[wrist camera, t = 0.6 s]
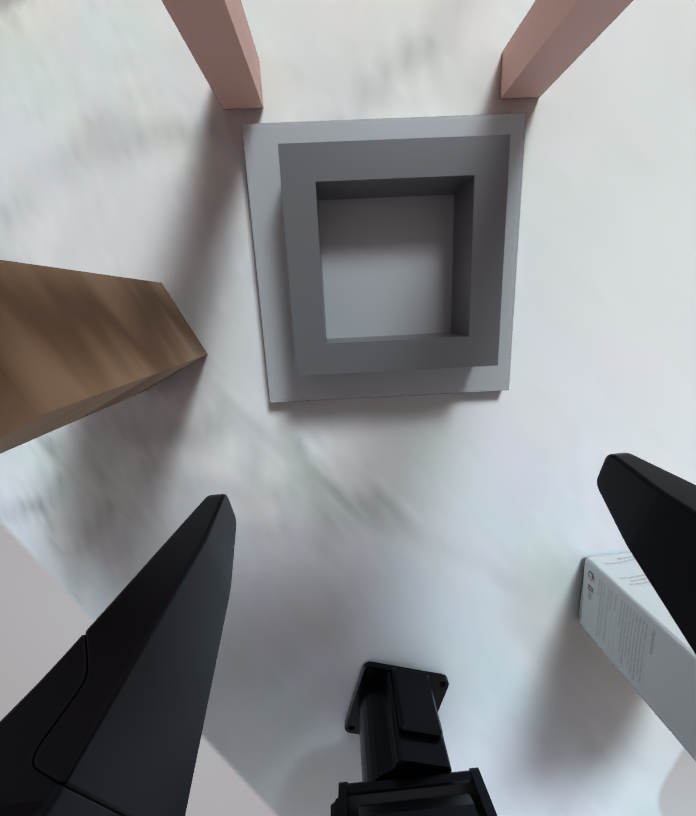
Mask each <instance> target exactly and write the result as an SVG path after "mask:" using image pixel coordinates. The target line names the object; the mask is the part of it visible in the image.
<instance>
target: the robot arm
mask: <svg viewBox="0 0 696 816" xmlns="http://www.w3.org/2000/svg"><path fill="white" fill-rule="evenodd" d="M597 486H598V489H599V491H600V493H601V495H602V497H603V499H604V501H605V503H606V505H607V507H608V509H609V511H610V513H611V515H612V517H613V519H614V521H615V523H616V525H617V527H618V529H619V531H620V533H621V535H622V537H623V539H624V541H625V543H626V545H627V546H628V548H629V550H630V551H631V553H632V555H633V557H634V558H635V560H636V561H637V563H638V564H639V566H640V568H641V569H642V571H643V572H644V574H645V576H646V577H647V579H648V580H649V582H650V583H651V585H652V587H653V588H654V590H655V591H656V593H657V594H658V596H659V598H660V599H661V601H662V602H663V604H664V606H665V607H666V609H667V610H668V612H669V613H670V615H671V617H672V618H673V620H674V621H675V623H676V625H677V626H678V628H679V629H680V631H681V632H682V634H683V636H684V637H685V639H686V640H687V642H688V644H689V645H690V647H691V648H692V650H693V651H694V653H695V655H696V485H694V484H692V483H690V482H688V481H686V480H684V479H682V478H680V477H678V476H676V475H673V474H671V473H669V472H667V471H665V470H663V469H661V468H659V467H657V466H655V465H653V464H651V463H649V462H646V461H644V460H642V459H640V458H638V457H636V456H634V455H632V454H629V453H617V454H610V455H608V456H607V457H606V459H605V461H604V463H603V466H602V468H601V471H600V473H599V476H598V478H597ZM235 533H236V518H235V515H234V512H233V509H232V507H231V504H230V501H229V499H228V497H227V496H226V495H225V494H218V495H210V496H208V497H206V498H205V499H204V500H203V501H202V503H201V504H200V505H199V506H198V507H197V508H196V509H195V510H194V512H193V513H192V514H191V515H190V516H189V517H188V518H187V519H186V520H185V522H184V523H183V524H182V525H181V526H180V527H179V528H178V529H177V530H176V532H175V533H174V534H173V535H172V536H171V537H170V538H169V539H168V540H167V542H166V543H165V544H164V545H163V546H162V547H161V548H160V549H159V550H158V552H157V553H156V554H155V555H154V556H153V557H152V558H151V559H150V561H149V562H148V563H147V564H146V565H145V566H144V567H143V568H142V569H141V571H140V572H139V573H138V574H137V575H136V576H135V577H134V578H133V579H132V581H131V582H130V583H129V584H128V585H127V586H126V587H125V588H124V589H123V591H122V592H121V593H120V594H119V595H118V596H117V597H116V598H115V599H114V601H113V602H112V603H111V604H110V605H109V606H108V607H107V608H106V610H105V611H104V612H103V613H102V614H101V615H100V616H99V617H98V618H97V620H96V621H95V622H94V623H93V624H92V625H91V626H90V627H89V628H88V630H87V631H86V635H82V636H81V637H80V638H79V639H78V641H77V642H76V643H75V644H74V645H73V646H72V647H71V648H70V649H69V651H68V652H67V653H66V654H65V655H64V656H63V657H62V658H61V659H60V660H59V661H58V662H57V664H56V665H55V666H54V667H53V668H52V669H51V670H50V671H49V672H48V673H47V674H46V675H45V676H44V678H43V679H42V680H41V681H40V682H39V683H38V684H37V685H36V686H35V687H34V688H33V689H32V690H31V691H30V692H29V693H28V694H27V695H26V696H25V697H24V698H23V699H22V700H21V701H20V702H19V703H18V704H17V705H16V706H15V707H14V708H13V709H12V710H11V711H10V712H9V713H8V714H7V715H6V716H5V717H4V718H3V719H2V720H1V721H0V816H185V813H186V808H187V803H188V798H189V793H190V788H191V783H192V777H193V773H194V768H195V763H196V758H197V753H198V748H199V744H200V739H201V734H202V729H203V724H204V719H205V714H206V709H207V704H208V699H209V694H210V689H211V684H212V679H213V674H214V669H215V664H216V659H217V654H218V649H219V644H220V639H221V634H222V629H223V625H224V620H225V615H226V610H227V605H228V600H229V594H230V588H231V579H232V567H233V556H234V545H235ZM369 669H371V670H369ZM448 685H449V683H448V680H447V677H446V676H445V675H443V674H438V673H432V672H427V671H421V670H415V669H410V668H404V667H398V666H393V665H387V664H381V663H376V662H367V663H365V664H364V666H363V669H362V672H361V675H360V678H359V681H358V684H357V687H356V690H355V693H354V696H353V699H352V702H351V705H350V708H349V711H348V714H347V717H346V720H345V730H346V731H347V732H349V733H354V734H360V747H361V765H362V782H358V783H349V784H348V782H340V783H339V794H338V798H337V799H336V800H335V802H334V803H333V804H332V805H331V816H497V814H496V811H495V809H494V806H493V804H492V801H491V799H490V796H489V794H488V791H487V789H486V786H485V784H484V781H483V779H482V776H481V774H480V771H479V769H478V768H469V771H459V772H452V771H451V766H450V762H449V758H448V754H447V750H446V746H445V742H444V738H443V734H442V728H441V724H440V720H439V716H438V710H439V708H440V705H441V703H442V700H443V698H444V695H445V693H446V690H447V688H448Z"/></svg>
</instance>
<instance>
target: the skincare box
mask: <svg viewBox="0 0 696 816" xmlns="http://www.w3.org/2000/svg"><path fill="white" fill-rule="evenodd" d="M579 621H580V622H581V626H582V627H583V629H584V630H585V631H586V632H587V633H588V634H589V636H590V637H591V638H592V639H593V640H594V642H595V643H596V644H597V645H598V646H599V648H600V649H601V650H602V651H603V652H604V653H605V655H606V656H607V657H608V658H609V659H610V660H611V662H612V663H613V664H614V665H615V667H616V668H617V669H618V670H619V671H620V672H621V674H622V675H623V676H624V677H625V678H626V679H627V681H628V682H629V683H630V684H631V685H632V686H633V688H634V689H635V690H636V691H637V692H638V694H639V695H640V696H641V697H642V698H643V700H644V701H645V702H646V703H647V704H648V705H649V707H650V708H651V709H652V710H653V711H654V713H655V714H656V715H657V716H658V717H659V718H660V720H661V721H662V722H663V723H664V724H665V726H666V727H667V728H668V729H669V730H670V731H671V732H672V734H673V735H674V736H675V737H676V738H677V740H678V741H679V742H680V743H681V744H682V746H683V747H684V748H685V749H686V750H687V751H688V752H689V754H690V755H691V756H692V757H693V758H694V760H695V761H696V655H695V653H694V651H693V650H692V648H691V647H690V645H689V644H688V642H687V640H686V639H685V637H684V636H683V634H682V632H681V631H680V629H679V628H678V626H677V625H676V623H675V621H674V620H673V618H672V617H671V615H670V613H669V612H668V610H667V609H666V607H665V606H664V604H663V602H662V601H661V599H660V598H659V596H658V594H657V593H656V591H655V590H654V588H653V587H652V585H651V583H650V582H649V580H648V579H647V577H646V576H645V574H644V572H643V571H642V569H641V568H640V566H639V564H638V563H637V561H636V560H635V558H634V557H633V555H632V553H631V552H628V553H618V554H610V555H600V556H588V557H586V559H585V565H584V579H583V587H582V593H581V600H580V609H579Z"/></svg>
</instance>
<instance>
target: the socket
mask: <svg viewBox="0 0 696 816" xmlns="http://www.w3.org/2000/svg"><path fill="white" fill-rule="evenodd" d="M525 124H526V113H515V114H489V115H463V116H437V117H412V118H386V119H360V120H334V121H308V122H282V123H257V124H242V131H243V141H244V151H245V161H246V170H247V180H248V190H249V200H250V210H251V220H252V229H253V239H254V249H255V259H256V269H257V279H258V288H259V298H260V308H261V318H262V328H263V338H264V347H265V357H266V367H267V377H268V387H269V397H270V403H273V402H292V401H311V400H330V399H349V398H368V397H387V396H406V395H425V394H444V393H463V392H482V391H501V390H509V378H510V362H511V346H512V331H513V315H514V299H515V283H516V267H517V251H518V235H519V219H520V204H521V188H522V172H523V156H524V140H525Z"/></svg>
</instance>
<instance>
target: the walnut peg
mask: <svg viewBox="0 0 696 816" xmlns="http://www.w3.org/2000/svg"><path fill="white" fill-rule="evenodd" d="M206 355H207V353H206V351H205V350H204V348H203V347H202V345H201V344H200V342H199V340H198V339H197V337H196V336H195V334H194V333H193V331H192V330H191V328H190V327H189V325H188V323H187V322H186V320H185V319H184V317H183V316H182V314H181V313H180V311H179V309H178V308H177V306H176V305H175V303H174V302H173V300H172V299H171V297H170V296H169V294H168V292H167V291H166V289H165V288H164V286H163V285H162V283H158V282H151V281H144V280H137V279H130V278H123V277H116V276H109V275H102V274H95V273H88V272H81V271H74V270H67V269H60V268H53V267H46V266H39V265H32V264H25V263H18V262H11V261H4V260H0V453H3V452H5V451H7V450H9V449H12V448H14V447H16V446H19V445H21V444H23V443H26V442H28V441H30V440H32V439H35V438H37V437H39V436H42V435H44V434H46V433H49V432H51V431H53V430H55V429H58V428H60V427H62V426H65V425H67V424H69V423H72V422H74V421H76V420H78V419H81V418H83V417H85V416H88V415H90V414H92V413H95V412H97V411H99V410H101V409H104V408H106V407H108V406H111V405H113V404H115V403H118V402H120V401H122V400H124V399H127V398H129V397H131V396H134V395H136V394H138V393H141V392H143V391H145V390H147V389H148V388H150V387H152V386H153V385H155V384H157V383H159V382H160V381H162V380H164V379H166V378H167V377H169V376H171V375H173V374H174V373H176V372H178V371H180V370H181V369H183V368H185V367H187V366H188V365H190V364H192V363H193V362H195V361H197V360H199V359H200V358H202V357H204V356H206Z"/></svg>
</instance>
